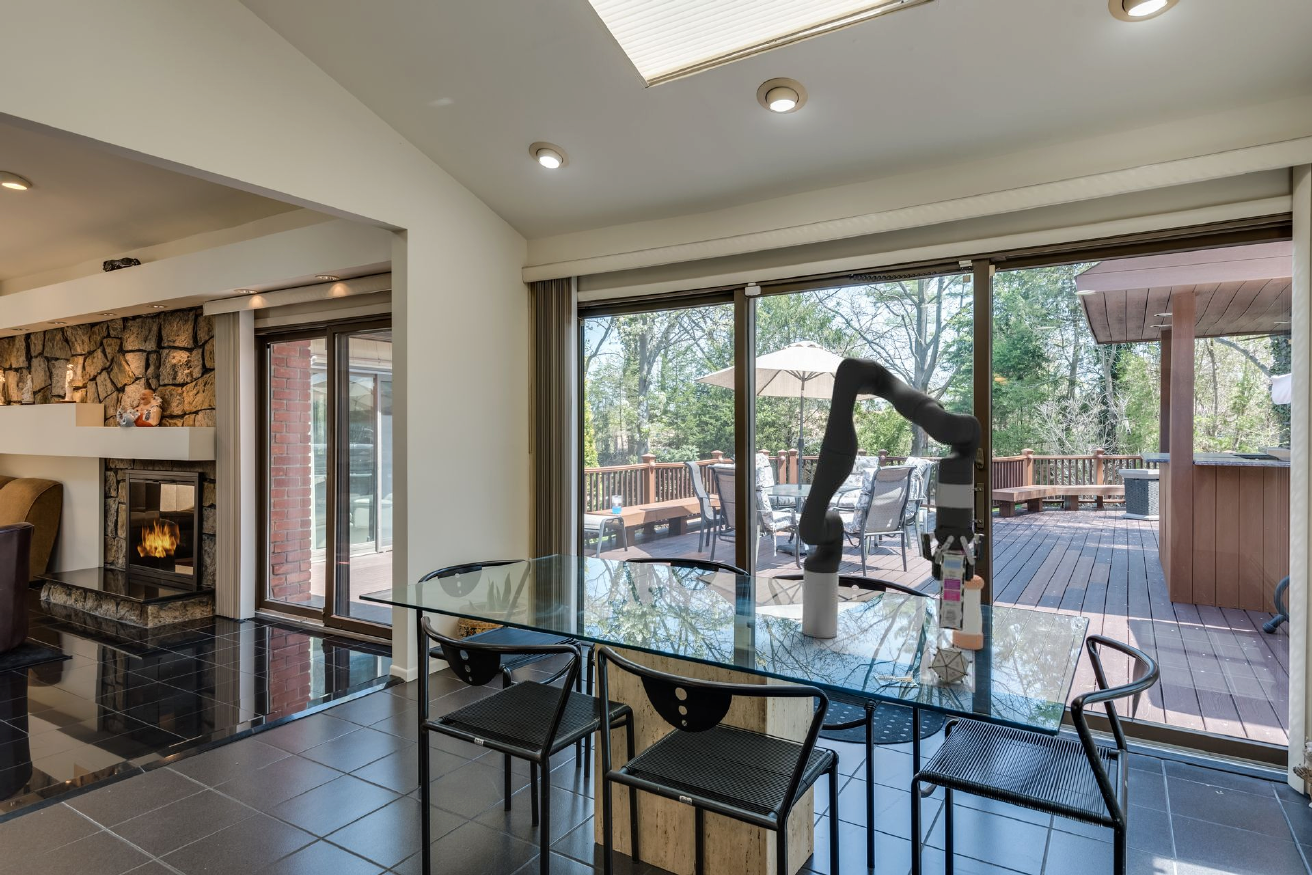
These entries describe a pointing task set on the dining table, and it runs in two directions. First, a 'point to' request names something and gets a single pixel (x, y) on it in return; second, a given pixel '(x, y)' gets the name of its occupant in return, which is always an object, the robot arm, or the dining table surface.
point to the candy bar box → (952, 590)
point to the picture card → (896, 679)
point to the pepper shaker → (971, 617)
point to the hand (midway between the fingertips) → (952, 580)
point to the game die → (950, 665)
